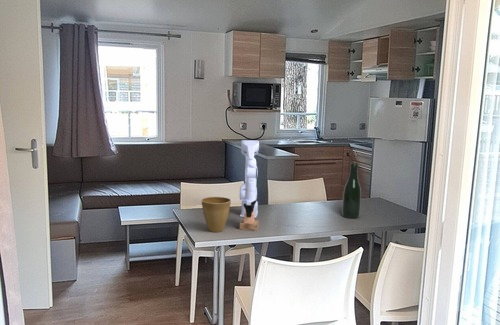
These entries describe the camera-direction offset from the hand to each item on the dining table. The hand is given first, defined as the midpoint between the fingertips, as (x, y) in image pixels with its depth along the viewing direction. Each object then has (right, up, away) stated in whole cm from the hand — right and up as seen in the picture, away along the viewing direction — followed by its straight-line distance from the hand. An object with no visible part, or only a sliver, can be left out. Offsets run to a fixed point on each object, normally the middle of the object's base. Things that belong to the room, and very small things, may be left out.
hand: (249, 215), depth 240 cm
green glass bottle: (+60, -4, +30) cm, 67 cm away
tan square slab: (0, -7, +1) cm, 7 cm away
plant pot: (-18, -7, -5) cm, 20 cm away
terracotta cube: (0, -4, +1) cm, 4 cm away
